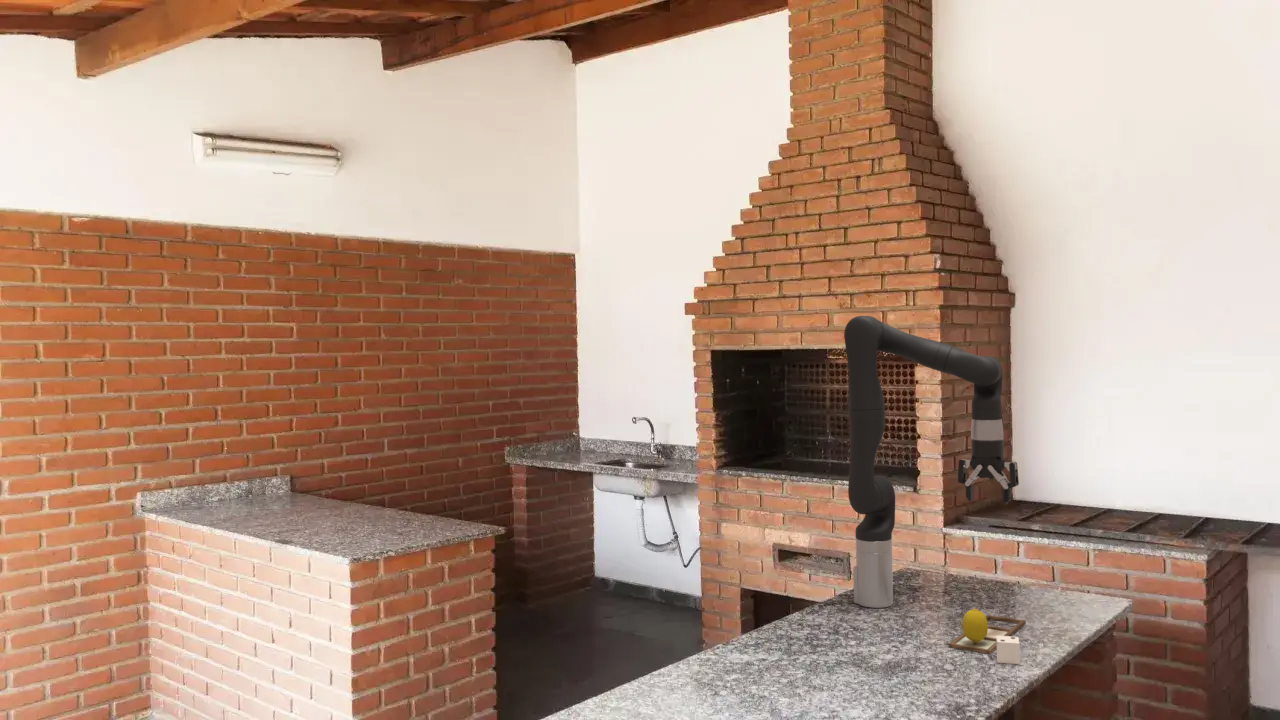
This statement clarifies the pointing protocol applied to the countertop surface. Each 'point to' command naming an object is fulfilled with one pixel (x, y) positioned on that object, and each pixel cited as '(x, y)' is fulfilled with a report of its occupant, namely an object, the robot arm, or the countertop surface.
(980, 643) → the board
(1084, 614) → the countertop surface
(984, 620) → the lemon
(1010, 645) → the die
